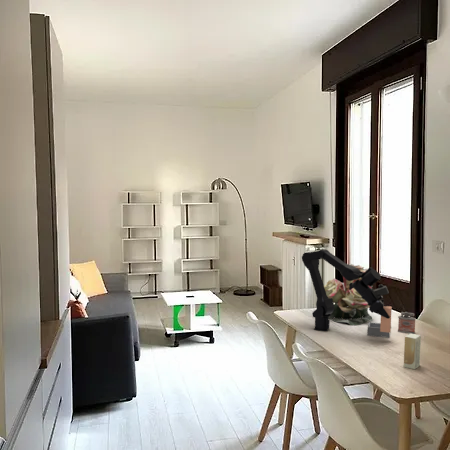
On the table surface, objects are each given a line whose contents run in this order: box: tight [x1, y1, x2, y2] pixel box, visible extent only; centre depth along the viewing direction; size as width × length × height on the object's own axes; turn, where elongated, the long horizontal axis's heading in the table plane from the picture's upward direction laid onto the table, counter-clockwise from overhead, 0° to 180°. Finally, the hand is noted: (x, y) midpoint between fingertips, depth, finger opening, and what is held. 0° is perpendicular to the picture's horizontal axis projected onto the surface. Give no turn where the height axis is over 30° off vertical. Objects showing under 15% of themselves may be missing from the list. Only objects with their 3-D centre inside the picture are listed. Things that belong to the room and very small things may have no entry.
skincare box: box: [403, 333, 422, 370], centre depth 193 cm, size 6×4×12 cm
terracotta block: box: [379, 305, 393, 333], centre depth 227 cm, size 4×4×11 cm
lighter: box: [397, 311, 417, 335], centre depth 243 cm, size 8×3×10 cm, turn 62°
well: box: [366, 321, 390, 338], centre depth 240 cm, size 10×10×4 cm
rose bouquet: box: [324, 263, 374, 326], centre depth 267 cm, size 26×29×30 cm
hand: (389, 316), depth 226 cm, fingers closed on terracotta block, 4 cm apart
